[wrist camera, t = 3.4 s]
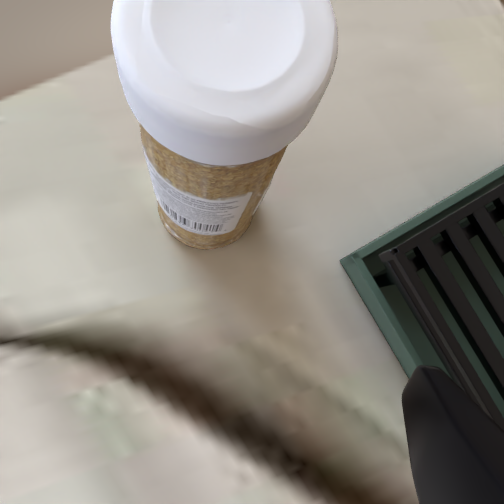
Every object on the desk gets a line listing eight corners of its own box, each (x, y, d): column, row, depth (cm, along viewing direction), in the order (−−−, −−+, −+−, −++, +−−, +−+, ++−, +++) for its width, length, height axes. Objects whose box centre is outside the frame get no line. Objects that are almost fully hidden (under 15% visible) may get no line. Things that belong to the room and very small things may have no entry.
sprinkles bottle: (272, 199, 23) (389, 18, 10) (211, 271, 22) (247, 182, 9) (199, 138, 23) (213, -128, 10) (134, 208, 22) (52, 20, 9)
